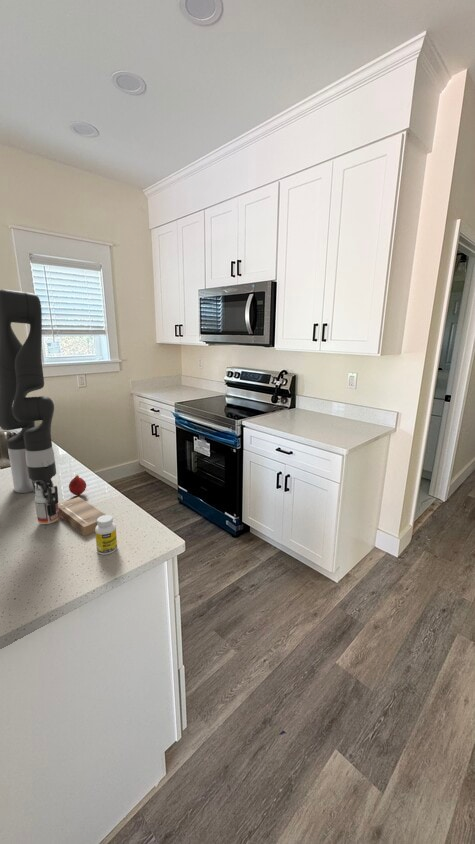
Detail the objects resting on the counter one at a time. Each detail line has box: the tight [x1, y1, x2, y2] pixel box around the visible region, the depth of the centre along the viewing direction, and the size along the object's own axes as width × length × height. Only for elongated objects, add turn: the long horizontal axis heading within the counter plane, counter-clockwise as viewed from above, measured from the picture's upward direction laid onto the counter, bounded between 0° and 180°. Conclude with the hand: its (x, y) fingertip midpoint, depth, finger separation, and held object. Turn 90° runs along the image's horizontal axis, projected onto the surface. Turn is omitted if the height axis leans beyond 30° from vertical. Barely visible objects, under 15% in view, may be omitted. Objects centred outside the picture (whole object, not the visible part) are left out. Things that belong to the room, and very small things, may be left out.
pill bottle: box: [34, 488, 60, 525], centre depth 110 cm, size 6×6×11 cm
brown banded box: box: [58, 496, 106, 537], centre depth 114 cm, size 20×8×3 cm, turn 49°
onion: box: [68, 474, 87, 497], centre depth 129 cm, size 6×6×8 cm
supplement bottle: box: [94, 514, 118, 556], centre depth 98 cm, size 5×5×10 cm
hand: (47, 511), depth 111 cm, fingers closed on pill bottle, 6 cm apart
